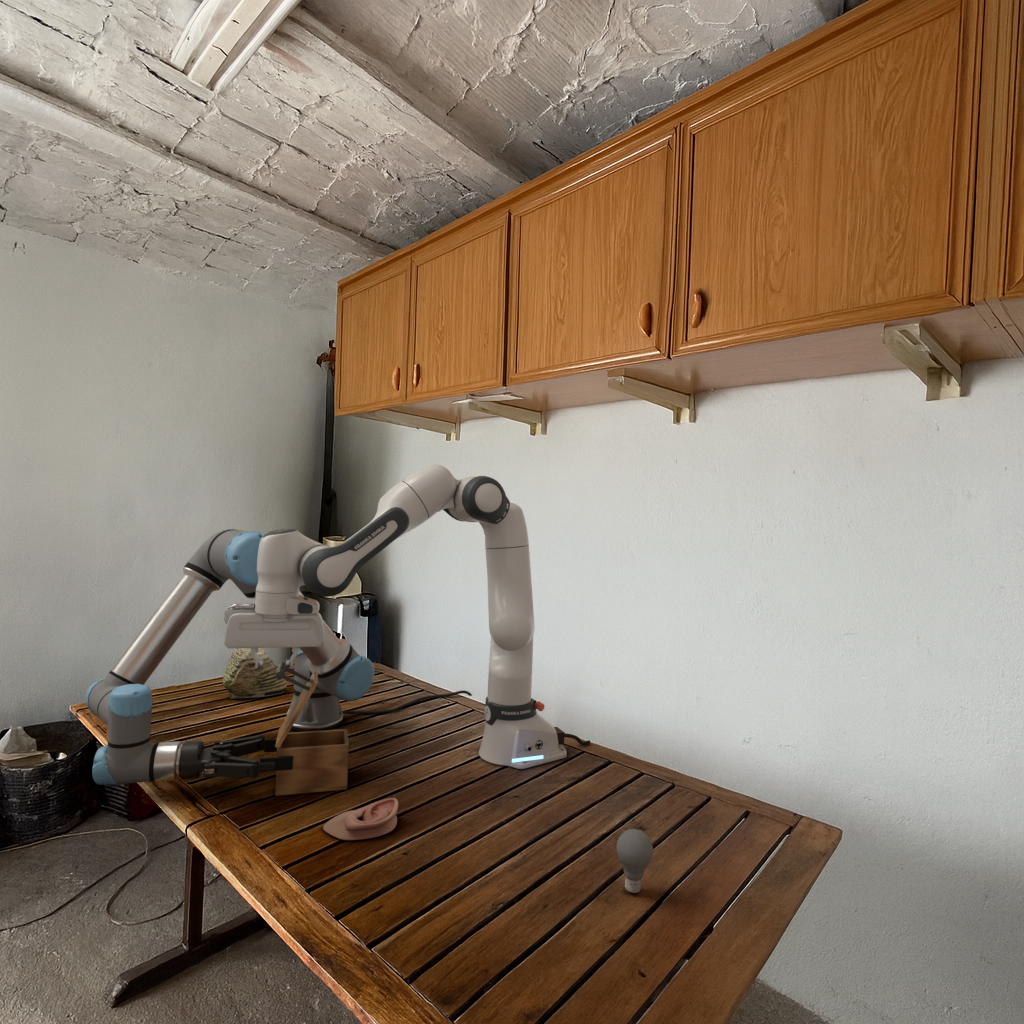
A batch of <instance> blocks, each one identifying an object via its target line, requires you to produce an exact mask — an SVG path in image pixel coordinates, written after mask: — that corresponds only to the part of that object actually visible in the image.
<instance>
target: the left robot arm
mask: <svg viewBox="0 0 1024 1024" xmlns="http://www.w3.org/2000/svg"><path fill="white" fill-rule="evenodd" d="M265 534H266V533H264V532H263V533H262V532H260V531H252V530H251V531H249V530H239V529H235V528H227V529H223V530H220V531H217V532H215V533H213V534H212V535H210V536H209V537H208V538H207V539H206V540H205V541H204V542H202V544H201V545H200V546H199V547H198V548H197V550H196V551H195V552H194V553H193V555H191V557H190V558H189V559H188V561H187V562H186V563H185V565H184V566H183V567H182V571H183V575H182V576H181V577H180V579H178V582H177V583H176V584H175V585H174V587H173V588H172V590H171V591H170V592H169V593H168V594H167V596H166V597H165V599H164V600H163V601H162V602H161V604H160V605H159V606H158V607H157V609H156V611H154V613H153V614H152V615H151V616H150V618H149V620H148V621H147V623H146V624H144V626H143V627H142V629H141V630H140V632H139V633H137V635H136V637H134V639H133V640H132V642H131V643H130V644H129V646H128V647H127V649H126V650H125V651H124V652H123V653H122V655H121V656H120V658H119V659H118V660H117V661H116V663H115V664H114V665H113V666H112V668H111V669H110V671H109V672H108V673H107V674H106V675H105V676H104V678H101V679H98V680H96V681H94V682H93V683H92V684H91V685H89V687H88V688H87V690H86V692H85V694H84V702H85V705H86V707H87V709H88V710H89V711H90V713H92V714H93V716H95V717H97V718H99V719H100V720H101V721H102V722H103V723H105V724H106V725H107V744H106V745H102V746H100V747H99V748H98V749H97V750H96V752H95V755H94V757H93V765H92V771H91V772H92V773H91V774H92V780H93V781H94V783H95V784H97V785H101V786H104V785H105V786H107V785H108V786H110V785H111V786H112V785H116V786H120V785H121V786H122V785H127V784H139V783H151V782H152V783H153V782H162V783H163V784H164V783H167V782H168V781H176V780H177V779H181V780H194V779H199V778H200V777H201V776H202V773H203V778H205V779H206V778H209V779H210V778H216V777H217V778H240V779H241V778H245V779H252V778H258V777H260V776H259V775H260V773H265V772H276V771H280V770H293V756H279V757H277V756H266V757H265V756H263V757H260V758H259V759H256V758H255V759H254V758H248V757H244V756H247V755H251V754H254V753H258V752H262V751H263V753H277V747H275V745H276V740H277V738H266V735H265V734H259V735H254V736H247V737H239V738H234V739H227V740H225V739H224V740H215V741H214V745H213V746H210V747H205V743H204V741H203V740H201V739H200V740H186V741H184V742H182V741H181V740H179V741H165V742H163V741H162V742H151V733H152V732H151V731H152V730H151V729H152V711H153V705H154V704H153V703H154V702H153V701H154V700H153V693H152V692H153V691H152V688H151V687H150V685H147V684H146V682H147V681H148V679H149V678H150V677H151V676H152V675H153V673H154V672H155V670H156V669H157V668H158V666H159V665H160V664H161V662H162V661H163V660H164V658H165V657H166V656H167V654H168V652H170V650H171V649H172V648H173V646H174V644H175V643H176V642H177V640H178V639H179V638H180V637H181V635H182V634H183V633H184V631H185V630H186V629H187V628H188V626H189V624H190V623H192V620H193V619H194V618H195V616H197V615H196V614H197V613H198V612H199V611H200V610H201V608H202V607H203V605H204V604H205V603H206V601H207V600H208V599H209V597H211V595H212V594H213V592H217V591H220V590H221V588H222V587H223V586H224V585H225V584H226V582H227V581H229V580H230V581H232V583H233V584H234V585H235V586H236V588H237V589H238V590H239V591H240V592H241V593H242V594H243V595H244V596H245V598H247V599H255V597H256V587H257V584H258V574H257V556H258V548H259V543H260V540H261V538H262V537H263V536H264V535H265ZM299 595H301V596H304V594H303V593H302V592H301V591H300V590H299ZM322 620H323V628H324V643H323V644H322V645H321V646H320V647H299V652H298V654H297V656H296V657H295V659H294V669H293V670H294V671H296V672H298V673H300V674H302V675H304V676H306V677H308V678H310V677H311V675H312V674H313V672H314V671H317V672H318V681H317V686H316V688H315V689H314V691H313V693H312V694H311V696H310V698H309V699H308V701H307V703H306V704H305V706H304V708H303V709H302V711H301V713H300V714H299V716H298V718H297V719H296V721H295V723H294V724H293V726H292V728H291V729H290V730H291V731H294V732H309V731H325V730H334V729H335V728H337V727H339V726H340V725H342V723H343V722H344V715H377V714H387V713H392V712H396V711H400V710H401V709H404V708H405V707H409V706H411V705H413V704H415V703H418V702H422V701H424V700H431V699H438V698H447V697H453V696H456V695H460V694H465V695H467V696H469V697H472V696H473V694H472V693H471V691H467V690H458V691H453V692H451V693H442V694H441V693H439V694H432V695H426V696H421V697H418V698H416V699H413V700H411V701H408V702H406V703H403V704H401V705H398V706H396V707H392V708H388V709H381V710H380V709H379V710H343V709H342V706H341V702H340V700H341V701H347V702H353V701H354V702H355V701H357V700H359V699H361V698H362V697H364V696H365V695H366V693H368V692H369V690H370V689H371V688H372V685H373V683H374V677H375V674H376V673H375V666H374V664H373V662H372V660H370V659H369V658H368V657H367V656H364V655H360V654H359V653H358V652H357V651H356V650H355V648H354V647H353V646H352V645H351V643H350V642H349V641H348V640H347V639H345V638H338V637H337V636H336V634H335V633H334V632H333V630H332V629H331V628H330V627H329V625H328V624H327V623H326V621H325V620H324V619H323V618H322ZM293 679H294V680H296V681H298V682H300V683H302V684H304V685H306V684H307V682H308V681H306V680H304V679H301V678H299V677H297V676H295V675H293ZM302 690H303V688H301V687H299V686H297V685H295V684H293V695H292V696H293V697H292V699H291V702H290V704H289V708H288V709H287V713H286V715H285V718H286V717H287V715H288V713H289V712H290V710H291V708H292V707H293V705H294V703H295V702H296V700H297V699H298V697H299V695H300V694H301V692H302Z"/></svg>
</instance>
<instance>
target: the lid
mask: <svg viewBox="0 0 1024 1024" xmlns="http://www.w3.org/2000/svg"><path fill="white" fill-rule="evenodd" d="M277 668H278V669H277V673H276V678H277V679H279V680H280V679H285V680H286V682H289V683H291V684H293V685H294V684H295V685H297V686H299V687H301V688H303V690H302V692H301V694H300V695H299V697H298V699H297V700H296V702H295V703H294V705H293V707H292V708H291V710H290V712H289V713H288V715H287V714H286V715H287V717H286V716H285V719H283V722H282V723H281V725H280V726H279V728H278V730H277V734H276V735H277V736H276V739H277V740H276V745H275V747H277V748H279V747H280V746H281V744H282V742H283V741H284V739H285V737H286V736H287V734H288V733H290V731H291V730H292V729H291V728H292V726H293V724H294V723H295V721H296V719H297V718H298V716H299V714H300V713H301V711H302V709H303V708H304V706H305V704H306V703H307V701H308V699H309V698H310V696H311V694H312V693H313V691H314V689H315V688H316V686H317V681H318V672H317V671H314V672H313V674H312V675H311V677H310V678H308V677H306V676H304V675H302V674H300V673H298V672H296V671H294V669H292V668H286V662H282V661H281V662H280V663H279V664H278V665H277ZM286 672H287V673H289V674H292V675H293V676H294V675H295V676H297V677H299V678H301V679H304V680H306V681H308V682H307V684H306V685H304V684H302V683H300V682H298V681H296V680H294V678H293V677H290V676H288V675H286Z"/></svg>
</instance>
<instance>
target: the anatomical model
mask: <svg viewBox="0 0 1024 1024" xmlns="http://www.w3.org/2000/svg"><path fill="white" fill-rule="evenodd" d="M398 809H399V801H398V799H397V798H396V797H389V798H388V797H387V798H383V799H381V800H378V801H375V802H372V803H369V804H367V805H365V806H363V807H360V808H357V809H353V810H352V809H351V810H348V811H344V812H341V813H340V814H337V815H336V816H333V818H330V819H329V820H328V821H327V822H325V823H324V824H323V826H322V830H323V831H324V832H325V833H326V834H329V835H330V836H332V837H334V838H337V839H339V840H342V841H358V840H359V841H360V840H366V839H373V838H377V837H380V836H383V835H386V834H388V833H390V832H392V831H393V830H394V829H395V828H396V826H397V824H398V817H397V813H398Z"/></svg>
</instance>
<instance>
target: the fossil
mask: <svg viewBox="0 0 1024 1024" xmlns="http://www.w3.org/2000/svg"><path fill="white" fill-rule="evenodd" d="M257 655H258V657H259V659H263V668H258V669H255V660H254V658H253V657H252V655H251V654H250V648H235V650H233V651H232V653H231V656H230V657H229V659H228V660H227V663H226V666H225V668H224V671H223V675H222V676H223V677H222V685H223V687H224V688H225V690H226V691H228V693H229V698H230V699H250V698H264V697H271V696H275V695H281V694H284V693H285V691H286V689H287V687H288V686H287V680H285V679H280V680H279V679H277V678H276V673H277V669H278V667H277V665H276V663H275V662H274V660H273V659H272V658H271V657H270V656H269V655H268V654H267V653H266V652H265V650H264V648H258V652H257Z"/></svg>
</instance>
